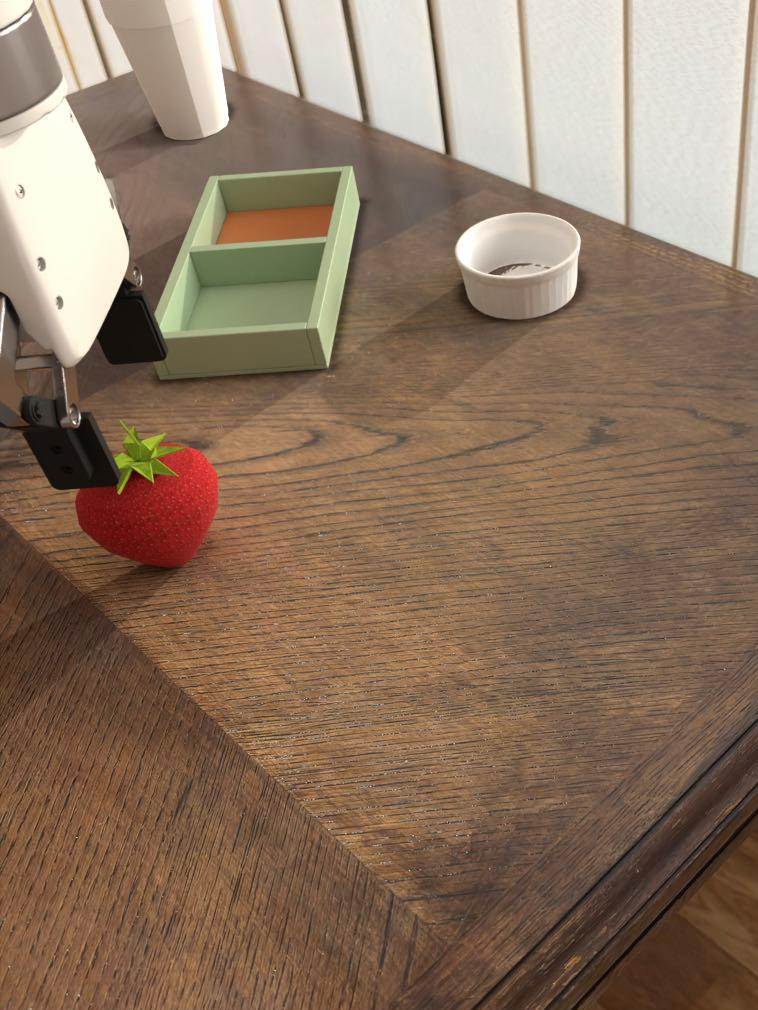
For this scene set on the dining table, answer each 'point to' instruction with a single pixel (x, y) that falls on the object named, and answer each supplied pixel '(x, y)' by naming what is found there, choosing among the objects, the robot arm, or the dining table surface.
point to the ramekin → (514, 244)
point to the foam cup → (174, 62)
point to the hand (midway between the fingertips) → (115, 418)
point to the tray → (260, 274)
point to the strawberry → (152, 503)
